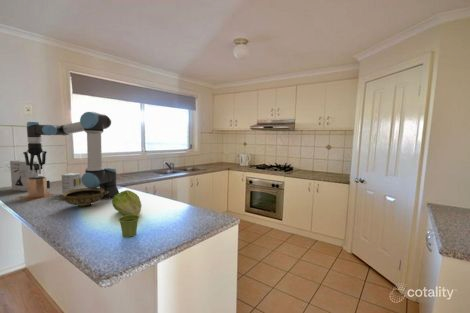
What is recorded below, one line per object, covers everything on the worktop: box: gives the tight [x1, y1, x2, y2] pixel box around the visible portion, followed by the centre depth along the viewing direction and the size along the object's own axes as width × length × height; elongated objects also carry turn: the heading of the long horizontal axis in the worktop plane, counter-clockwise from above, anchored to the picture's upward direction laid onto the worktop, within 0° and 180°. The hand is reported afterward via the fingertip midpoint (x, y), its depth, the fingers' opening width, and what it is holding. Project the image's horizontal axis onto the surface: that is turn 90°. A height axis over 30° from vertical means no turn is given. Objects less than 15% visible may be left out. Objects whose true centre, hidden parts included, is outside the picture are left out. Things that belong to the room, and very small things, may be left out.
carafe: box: [27, 175, 51, 198], centre depth 170 cm, size 10×13×15 cm
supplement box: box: [61, 172, 82, 194], centre depth 181 cm, size 10×9×17 cm
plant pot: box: [118, 214, 140, 238], centre depth 110 cm, size 9×9×9 cm
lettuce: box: [111, 189, 142, 216], centre depth 140 cm, size 14×24×15 cm
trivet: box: [17, 191, 58, 202], centre depth 170 cm, size 18×18×1 cm
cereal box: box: [9, 159, 39, 192], centre depth 192 cm, size 22×8×25 cm, turn 73°
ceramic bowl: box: [56, 187, 109, 208], centre depth 153 cm, size 30×24×10 cm
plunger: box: [33, 163, 39, 177], centre depth 168 cm, size 7×7×24 cm
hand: (36, 174), depth 168 cm, fingers closed on plunger, 3 cm apart
